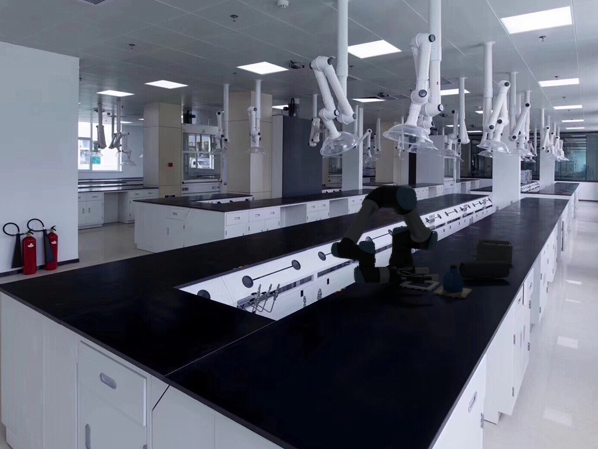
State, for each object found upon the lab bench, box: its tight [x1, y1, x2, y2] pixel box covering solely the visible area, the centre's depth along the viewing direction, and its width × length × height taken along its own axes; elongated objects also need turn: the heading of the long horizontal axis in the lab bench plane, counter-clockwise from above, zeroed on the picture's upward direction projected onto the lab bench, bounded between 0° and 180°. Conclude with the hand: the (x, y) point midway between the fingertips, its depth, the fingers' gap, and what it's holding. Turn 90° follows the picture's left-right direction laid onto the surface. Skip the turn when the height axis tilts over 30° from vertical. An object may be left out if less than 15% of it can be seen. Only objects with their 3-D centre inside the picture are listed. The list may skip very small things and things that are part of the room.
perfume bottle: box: [442, 264, 464, 293], centre depth 203 cm, size 6×6×12 cm
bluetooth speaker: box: [458, 260, 511, 282], centre depth 226 cm, size 23×9×10 cm, turn 92°
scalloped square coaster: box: [399, 281, 441, 292], centre depth 217 cm, size 15×15×1 cm
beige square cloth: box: [432, 284, 473, 299], centre depth 204 cm, size 14×14×1 cm
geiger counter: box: [467, 237, 514, 265], centre depth 267 cm, size 14×6×25 cm
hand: (433, 274), depth 203 cm, fingers open, 13 cm apart
